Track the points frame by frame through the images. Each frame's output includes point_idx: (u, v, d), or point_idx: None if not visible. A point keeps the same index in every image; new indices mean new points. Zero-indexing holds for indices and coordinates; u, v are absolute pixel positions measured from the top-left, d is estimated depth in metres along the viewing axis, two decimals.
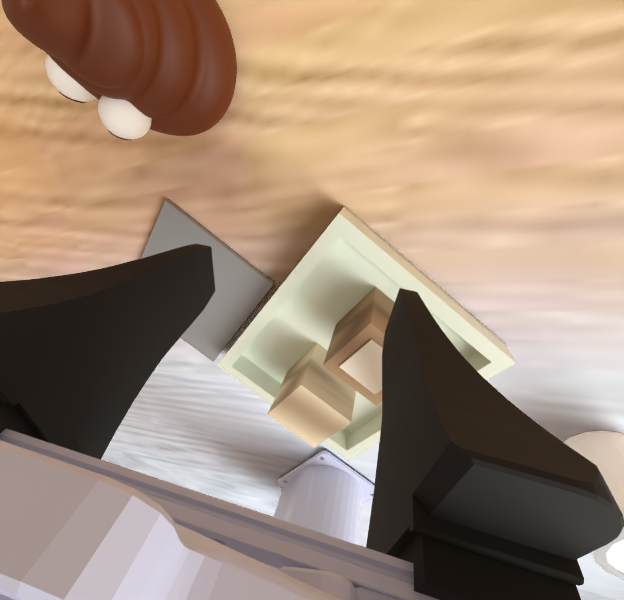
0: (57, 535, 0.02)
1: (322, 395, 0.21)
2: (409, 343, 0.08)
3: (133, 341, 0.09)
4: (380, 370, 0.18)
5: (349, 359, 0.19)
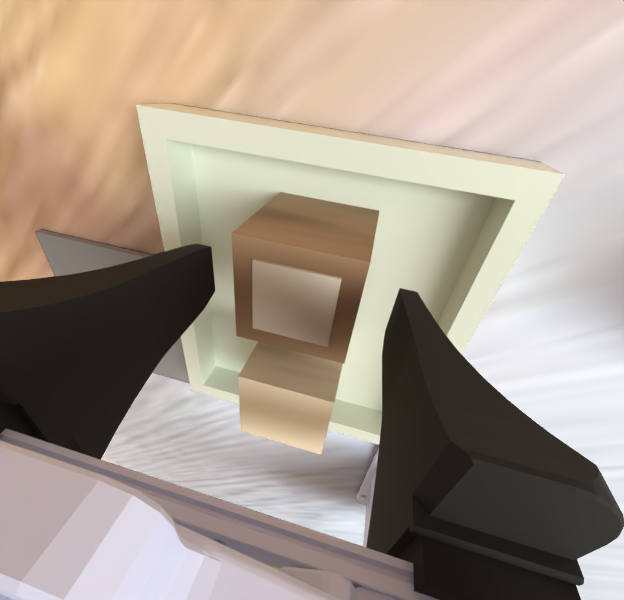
0: (56, 535, 0.02)
1: (277, 380, 0.14)
2: (409, 343, 0.08)
3: (133, 341, 0.09)
4: (303, 304, 0.10)
5: (256, 309, 0.11)
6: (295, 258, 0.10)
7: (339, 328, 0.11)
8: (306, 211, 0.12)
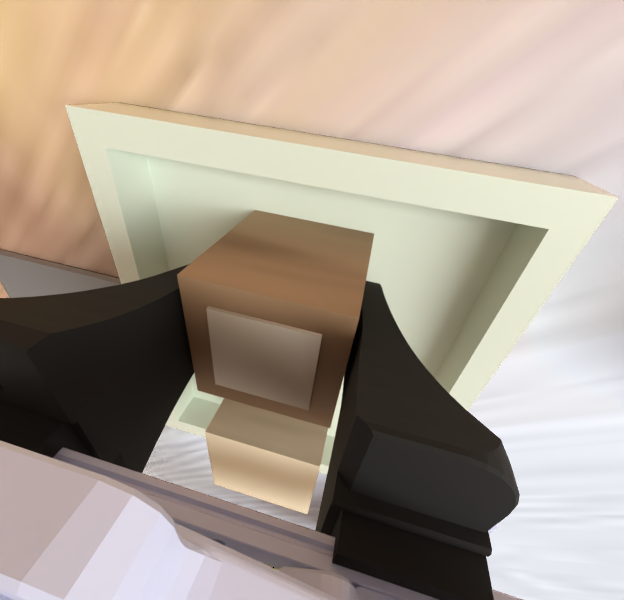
0: (57, 535, 0.02)
1: (252, 436, 0.12)
2: (360, 331, 0.08)
3: (174, 352, 0.08)
4: (275, 362, 0.08)
5: (218, 363, 0.09)
6: (261, 308, 0.07)
7: (321, 390, 0.09)
8: (283, 237, 0.10)
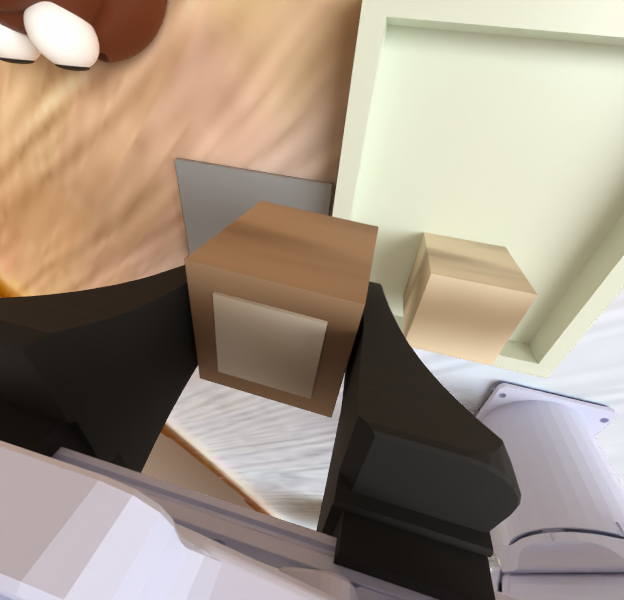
0: (57, 535, 0.02)
1: (470, 277, 0.14)
2: (361, 331, 0.08)
3: (173, 352, 0.08)
4: (279, 349, 0.08)
5: (222, 350, 0.09)
6: (268, 294, 0.07)
7: (325, 379, 0.09)
8: (288, 227, 0.10)
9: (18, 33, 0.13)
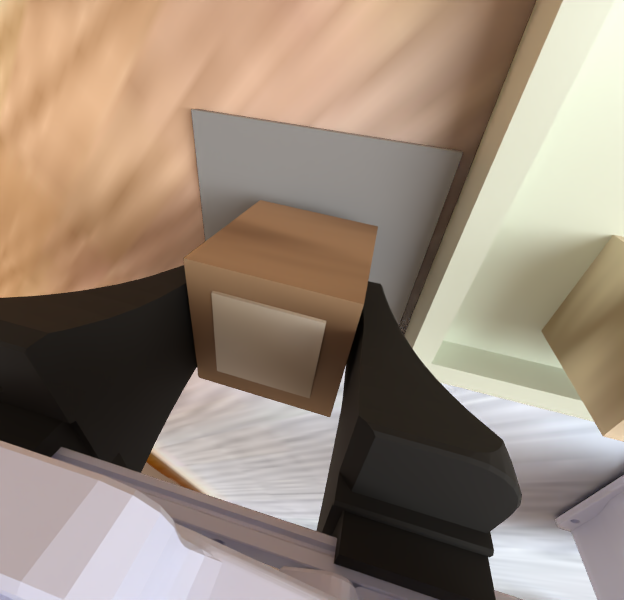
0: (57, 535, 0.02)
1: None
2: (361, 331, 0.08)
3: (173, 352, 0.08)
4: (278, 348, 0.08)
5: (221, 350, 0.09)
6: (266, 293, 0.07)
7: (323, 378, 0.09)
8: (288, 227, 0.10)
9: None
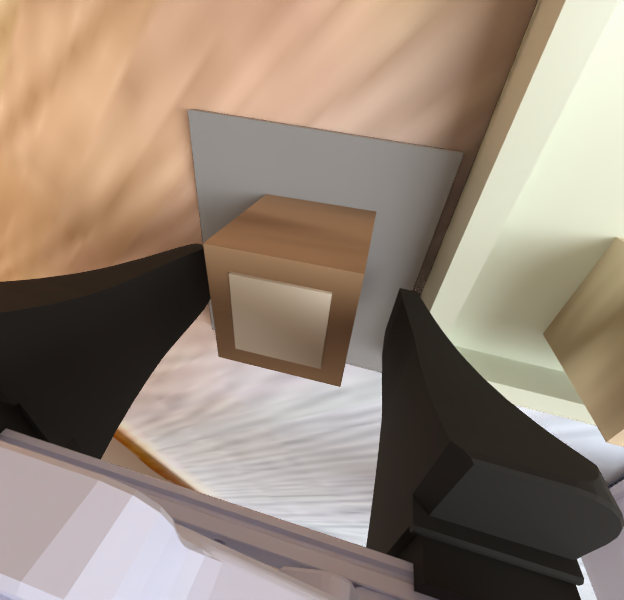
0: (57, 535, 0.02)
1: None
2: (409, 343, 0.08)
3: (133, 341, 0.09)
4: (290, 322, 0.09)
5: (238, 328, 0.10)
6: (278, 270, 0.08)
7: (332, 349, 0.09)
8: (293, 215, 0.11)
9: None
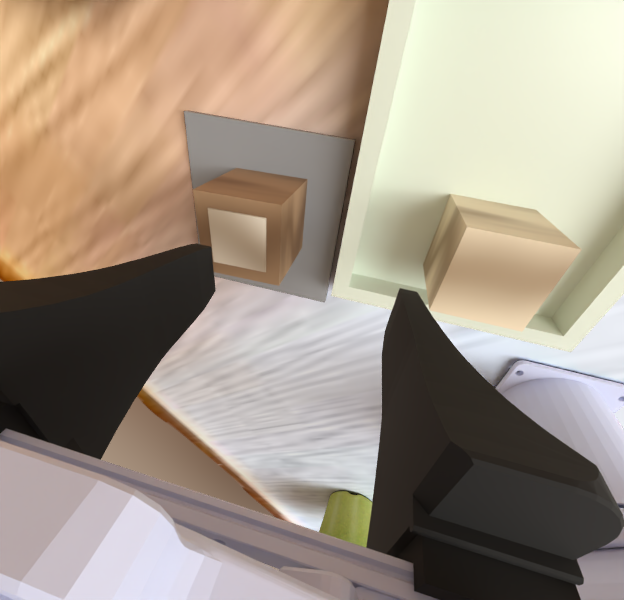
0: (56, 536, 0.02)
1: (508, 232, 0.13)
2: (409, 343, 0.08)
3: (133, 341, 0.09)
4: (244, 239, 0.15)
5: (214, 247, 0.16)
6: (235, 205, 0.15)
7: (271, 257, 0.16)
8: (250, 179, 0.17)
9: None
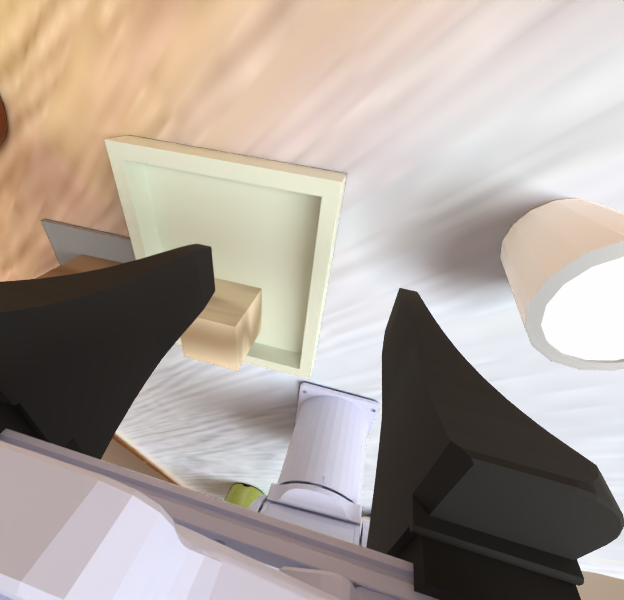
0: (57, 535, 0.02)
1: (201, 314, 0.21)
2: (409, 343, 0.08)
3: (133, 341, 0.09)
4: None
5: None
6: None
7: None
8: (81, 267, 0.26)
9: None
